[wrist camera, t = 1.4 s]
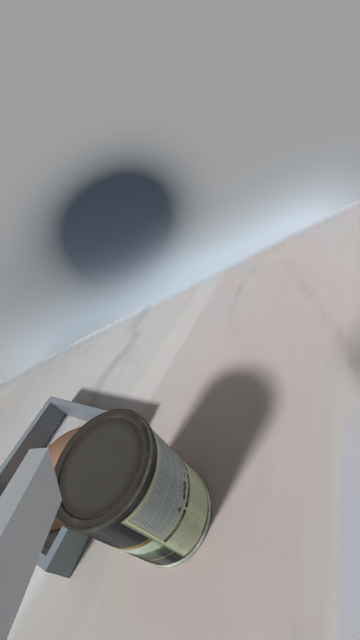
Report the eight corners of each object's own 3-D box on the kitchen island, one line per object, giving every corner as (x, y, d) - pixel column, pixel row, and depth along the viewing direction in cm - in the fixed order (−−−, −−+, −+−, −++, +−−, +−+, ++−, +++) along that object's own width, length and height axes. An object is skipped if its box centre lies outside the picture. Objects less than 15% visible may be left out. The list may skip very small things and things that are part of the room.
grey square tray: (65, 408, 56) (50, 396, 54) (142, 429, 46) (128, 416, 43) (-8, 518, 46) (-31, 510, 44) (69, 578, 36) (45, 571, 33)
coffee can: (146, 592, 32) (53, 563, 23) (121, 497, 40) (45, 449, 31) (230, 529, 32) (170, 478, 24) (188, 449, 41) (132, 389, 32)
